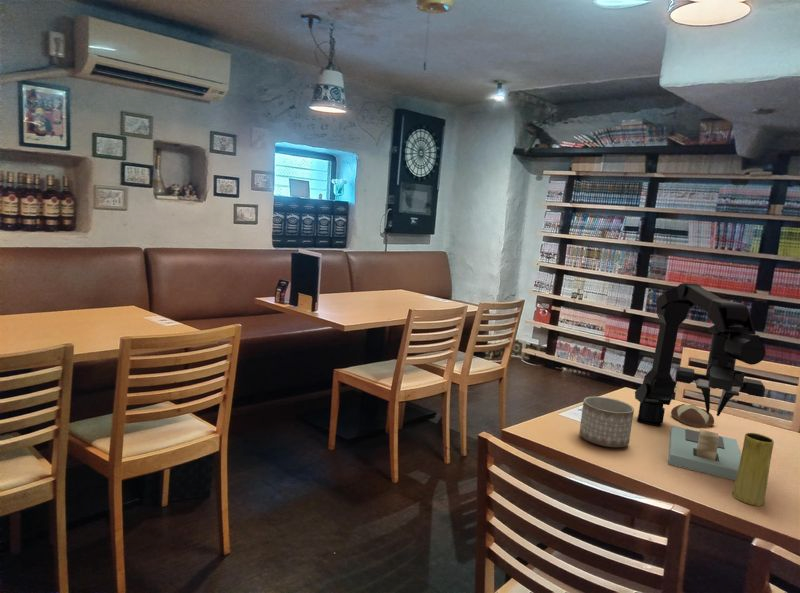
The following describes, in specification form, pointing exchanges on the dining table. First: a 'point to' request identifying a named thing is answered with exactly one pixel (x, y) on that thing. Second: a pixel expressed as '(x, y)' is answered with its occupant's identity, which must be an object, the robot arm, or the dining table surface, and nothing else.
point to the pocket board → (685, 456)
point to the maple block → (707, 445)
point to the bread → (692, 416)
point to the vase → (753, 469)
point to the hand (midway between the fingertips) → (712, 414)
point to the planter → (606, 421)
